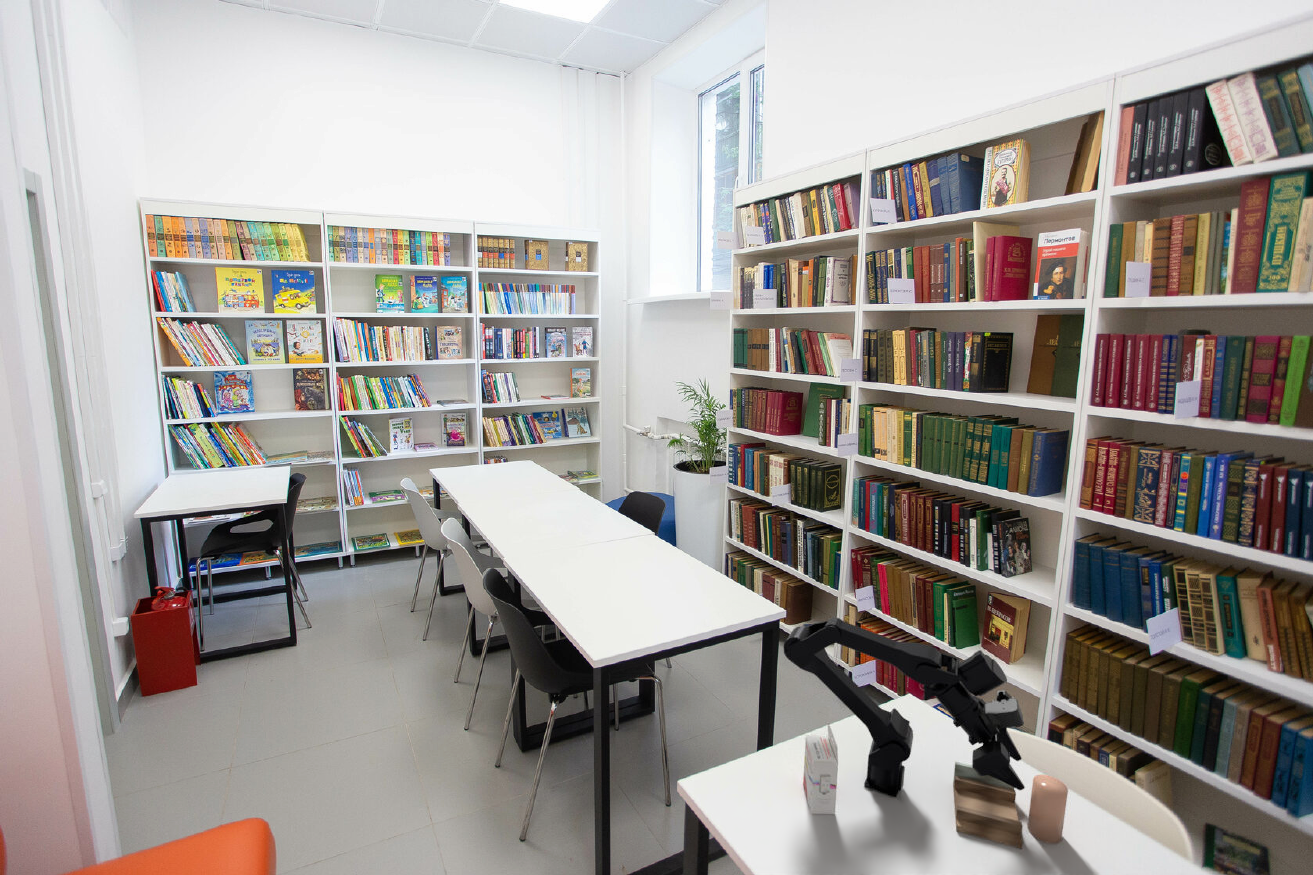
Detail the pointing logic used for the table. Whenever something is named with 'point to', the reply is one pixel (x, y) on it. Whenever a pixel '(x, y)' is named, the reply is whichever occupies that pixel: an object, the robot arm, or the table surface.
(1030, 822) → the peach pink cylinder
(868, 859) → the table surface
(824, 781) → the ink cartridge box
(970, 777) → the walnut shelf
